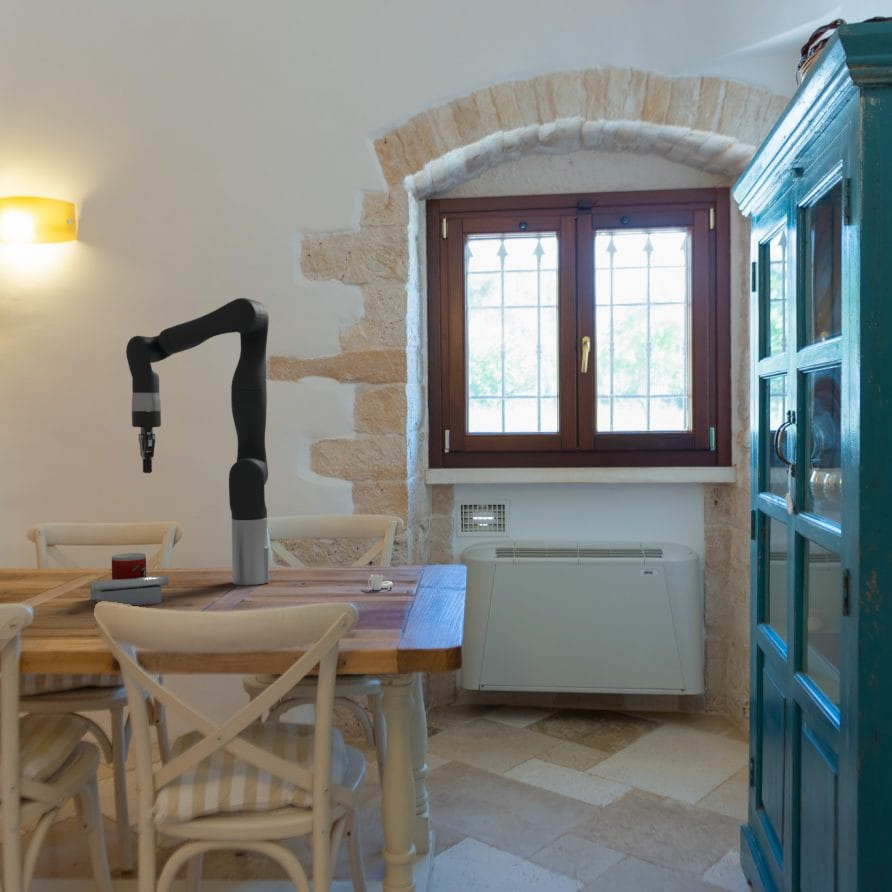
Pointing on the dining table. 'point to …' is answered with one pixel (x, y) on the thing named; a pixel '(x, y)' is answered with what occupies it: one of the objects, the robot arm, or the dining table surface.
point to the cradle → (129, 590)
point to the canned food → (128, 566)
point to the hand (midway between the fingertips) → (147, 472)
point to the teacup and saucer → (378, 582)
